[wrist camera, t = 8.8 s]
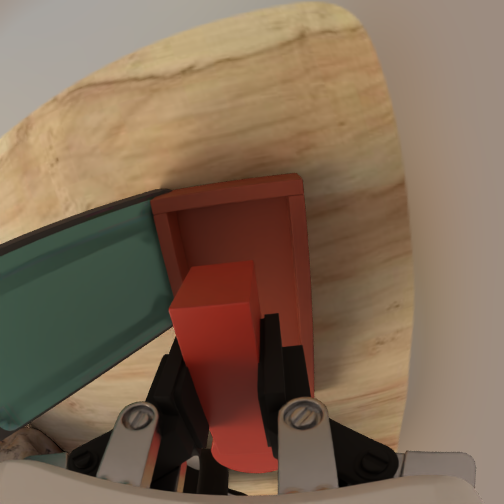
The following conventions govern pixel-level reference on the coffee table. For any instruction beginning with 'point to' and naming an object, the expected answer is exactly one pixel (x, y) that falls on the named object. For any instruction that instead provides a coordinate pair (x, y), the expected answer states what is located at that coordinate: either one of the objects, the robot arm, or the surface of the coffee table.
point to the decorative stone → (26, 445)
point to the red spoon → (225, 359)
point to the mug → (207, 476)
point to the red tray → (246, 244)
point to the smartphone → (77, 304)
